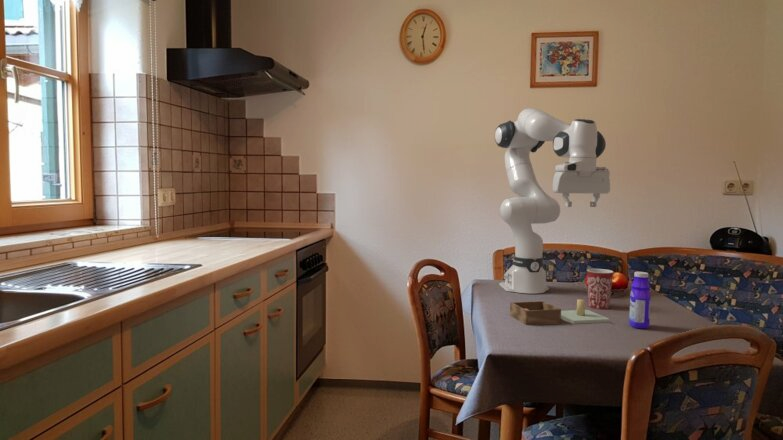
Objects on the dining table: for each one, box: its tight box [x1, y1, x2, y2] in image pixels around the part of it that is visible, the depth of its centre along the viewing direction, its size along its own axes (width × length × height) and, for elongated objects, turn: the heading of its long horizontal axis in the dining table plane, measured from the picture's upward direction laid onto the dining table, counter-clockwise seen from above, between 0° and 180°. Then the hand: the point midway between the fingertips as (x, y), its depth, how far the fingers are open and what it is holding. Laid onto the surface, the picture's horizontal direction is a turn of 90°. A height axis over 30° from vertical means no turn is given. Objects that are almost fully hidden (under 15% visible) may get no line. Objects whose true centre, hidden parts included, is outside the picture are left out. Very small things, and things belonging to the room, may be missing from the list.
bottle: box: [628, 271, 652, 329], centre depth 176 cm, size 7×6×17 cm
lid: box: [561, 298, 611, 325], centre depth 185 cm, size 13×13×6 cm
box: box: [509, 300, 562, 326], centre depth 182 cm, size 12×12×5 cm
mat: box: [561, 318, 613, 325], centre depth 185 cm, size 14×14×1 cm
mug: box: [587, 268, 615, 310], centre depth 205 cm, size 13×9×14 cm
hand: (580, 206), depth 192 cm, fingers open, 8 cm apart
